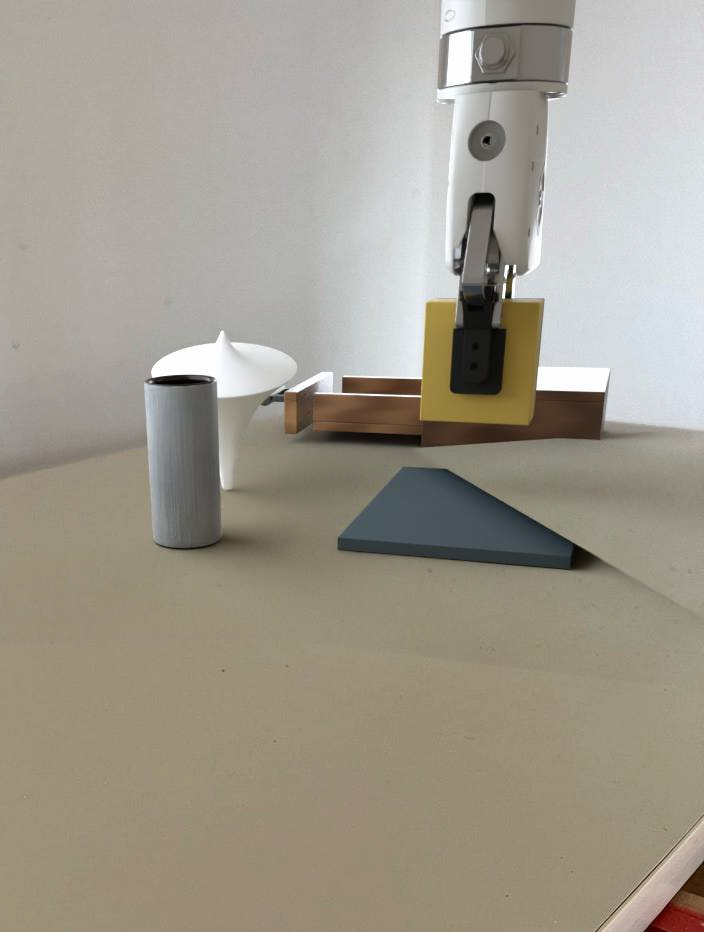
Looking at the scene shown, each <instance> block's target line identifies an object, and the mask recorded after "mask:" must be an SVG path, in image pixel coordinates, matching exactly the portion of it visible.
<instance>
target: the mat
mask: <svg viewBox="0 0 704 932" xmlns="http://www.w3.org/2000/svg"><path fill="white" fill-rule="evenodd" d="M575 547H576V543H575V542H574V541H572V540H571V539H569V538H566V537H565V536H563V535H561V534H560V533H558V532H556V531H555V530H553V529H552V528H549V527H547V526H546V525H544V524H542V523H540V522H539V521H537V520H536V519H534V518H532V517H531V516H529V515H527V514H525V513H523V512H522V511H520V510H519V509H517V508H515V507H513V506H511V505H509V504H508V503H506V502H505V501H503V500H502V499H500V498H498V497H496V496H495V495H493V494H491V493H489V492H487V491H486V490H484V489H482V488H481V487H479V486H477V485H476V484H474V483H472V482H470V481H468V480H467V479H465V478H464V477H462V476H460V475H458V474H456V473H454V471H451V470H449V469H448V468H441V467H439V468H438V467H422V466H421V467H420V466H404V465H403V466H402V467H400V470H398V472H397V473H396V474H395V475H394V476H393V477H392V478H391V479H390V480H389V482H387V484H386V485H384V487H383V488H382V489H381V490H380V491H379V492H378V493H377V494H376V495H375V497H373V498H372V499H371V501H369V503H368V504H367V505H366V506H365V507H364V509H362V511H361V512H359V514H358V515H357V516H356V517H355V518H354V519H353V520H352V522H351V523H349V525H347V527H346V528H345V529H344V530H343V531H342V532H341V533H340V534H339V536H337V547H336V549H337V550H340V551H342V550H343V551H353V552H364V553H376V554H389V555H401V556H410V555H411V556H412V557H423V556H426V557H425V558H433V557H435V559H445V558H447V560H458V561H470V562H481V563H494V564H505V565H515V566H516V565H517V566H528V567H529V566H530V567H538V568H539V567H540V568H541V567H542V568H553V569H562V570H571V566H572V562H573V556H574V553H575ZM437 557H439V558H437ZM423 558H424V557H423Z"/></svg>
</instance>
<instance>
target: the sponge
mask: <svg viewBox="0 0 704 932" xmlns="http://www.w3.org/2000/svg"><path fill="white" fill-rule="evenodd" d="M545 301H546V299H545V298H544V297H514V298H505V299H504V310H503V320H502V327H501V329H506V341H505V354H504V366H503V379H502V389H501V391H500V392H499V393H498V394H497V395H478V394H455V393H452V392H451V391H450V374H451V358H452V341H453V329H454V328H455V318H456V306H457V297H435V298H433V299H431V300H428V301H425V307H424V308H425V310H424V329H423V345H422V346H423V347H422V349H423V350H422V368H421V378H422V386H421V406H420V420H421V421H441V422H463V423H486V424H508V425H529V423H530V421H531V420H532V418H533V416H534V411H535V400H536V389H537V378H538V367H540V366H539V365H540V356H541V355H540V354H541V344H542V332H543V323H544V310H545ZM493 302H494V301H493Z"/></svg>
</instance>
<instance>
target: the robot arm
mask: <svg viewBox="0 0 704 932" xmlns="http://www.w3.org/2000/svg"><path fill="white" fill-rule="evenodd" d="M576 3H577V0H441V11H440V30H439V38H440V39H439V46H438V47H439V50H438V65H437V67H438V70H437V88H436V103H438V104H442V105H445V104H447V105H453V116H452V117H453V118H452V127H451V129H452V130H451V133H450V138H451V139H450V152H449V153H450V154H449V165H448V177H447V178H448V179H447V180H448V181H447V193H446V195H447V197H446V198H447V199H446V214H445V241H444V244H445V245H444V257H445V258H444V259H445V268H446V269H447V271H448V272H449V273H451V274H452V276H455V277H458V282H457V283H458V284H457V295H456V298H457V306H456V318H455V328H454V329H453V341H452V358H451V374H450V391H451V392H452V393H455V394H478V395H497V394H498V393H499V392H500V391H501V389H502V379H503V366H504V354H505V341H506V329H501V327H502V320H503V310H504V299H505V298H515V287H516V286H515V285H516V276H517V277H524V276H526V275H527V274H529V273H531V272H532V271H534V270H535V269H536V268H537V267H539V265H540V263H541V255H542V254H541V252H542V233H543V220H544V219H543V218H544V204H545V192H546V177H547V165H548V164H547V162H548V145H549V143H548V142H549V101H552V100H559V99H563V98H565V97H568V90H569V88H568V87H569V77H570V69H571V67H570V66H571V56H572V45H573V35H574V33H573V31H574V24H575V14H576ZM493 301H494V302H493Z"/></svg>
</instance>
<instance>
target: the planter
mask: <svg viewBox="0 0 704 932" xmlns="http://www.w3.org/2000/svg"><path fill="white" fill-rule="evenodd" d="M143 389H144V390H143V391H144V407H145V423H146V426H145V427H146V440H147V441H146V443H147V458H148V461H147V462H148V476H149V478H148V479H149V494H150V510H151V530H152V538H153V541H154V543H156V544H157V545H160V546H163V547H166V548H173V549H195V548H201V547H207V546H210V545H213V544H215V543H217V542H220V540H221V539H222V501H221V500H222V499H221V498H222V497H221V496H222V495H221V479H220V463H219V431H218V399H217V380H216V378H214V377H212V376H207V375H193V374H183V375H167V376H159V377H150V378H147V379H146V380H144V382H143Z"/></svg>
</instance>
